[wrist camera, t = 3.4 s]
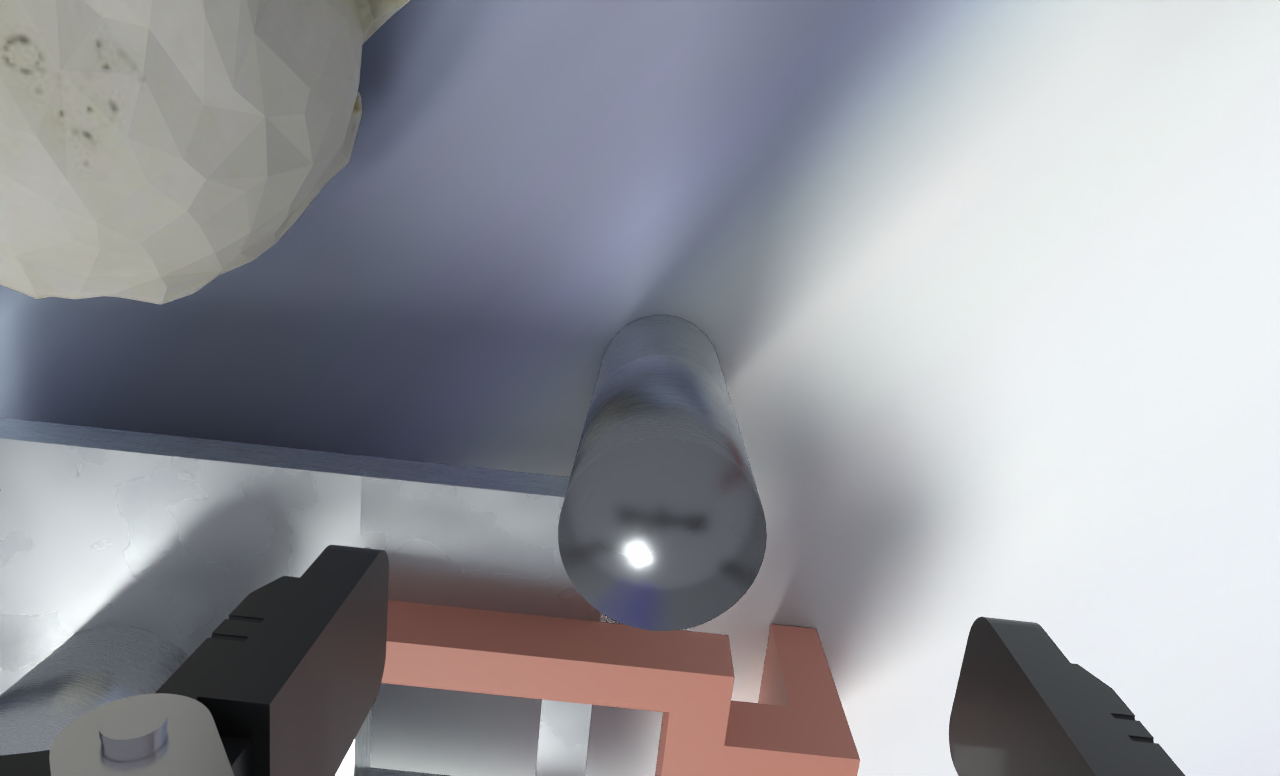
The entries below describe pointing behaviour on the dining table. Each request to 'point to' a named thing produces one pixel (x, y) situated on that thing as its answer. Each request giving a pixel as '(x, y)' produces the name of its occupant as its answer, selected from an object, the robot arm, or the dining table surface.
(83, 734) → the robot arm
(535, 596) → the base plate with posts
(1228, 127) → the dining table surface
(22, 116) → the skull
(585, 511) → the pin
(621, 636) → the bracket
